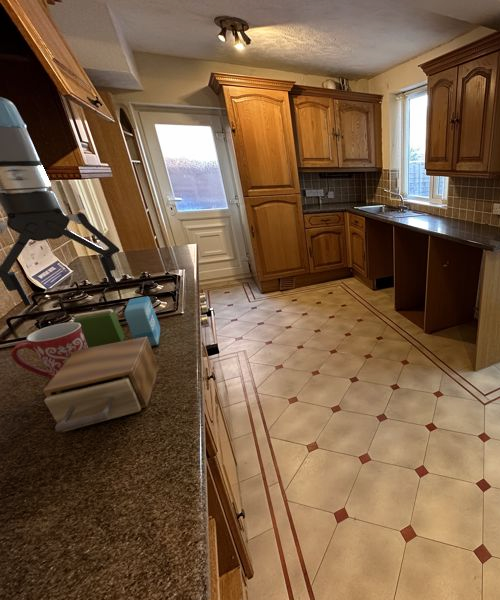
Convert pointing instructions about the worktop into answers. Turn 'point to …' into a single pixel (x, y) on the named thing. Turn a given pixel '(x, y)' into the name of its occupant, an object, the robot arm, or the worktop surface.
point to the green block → (100, 327)
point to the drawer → (93, 403)
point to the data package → (142, 320)
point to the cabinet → (110, 367)
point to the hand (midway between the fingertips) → (73, 293)
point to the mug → (52, 347)
